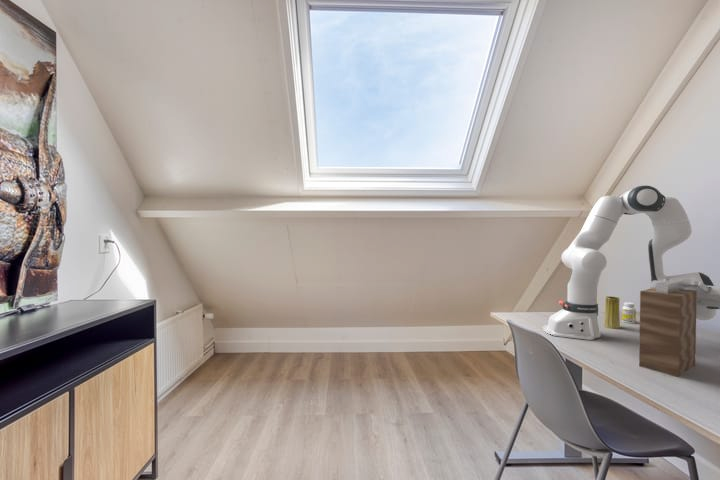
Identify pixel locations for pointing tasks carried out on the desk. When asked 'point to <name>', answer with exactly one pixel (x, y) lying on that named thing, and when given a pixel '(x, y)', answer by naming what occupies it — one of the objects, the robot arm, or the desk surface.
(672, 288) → the block
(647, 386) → the desk surface
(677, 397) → the desk surface
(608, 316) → the vase
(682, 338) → the pedestal
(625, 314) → the supplement bottle
